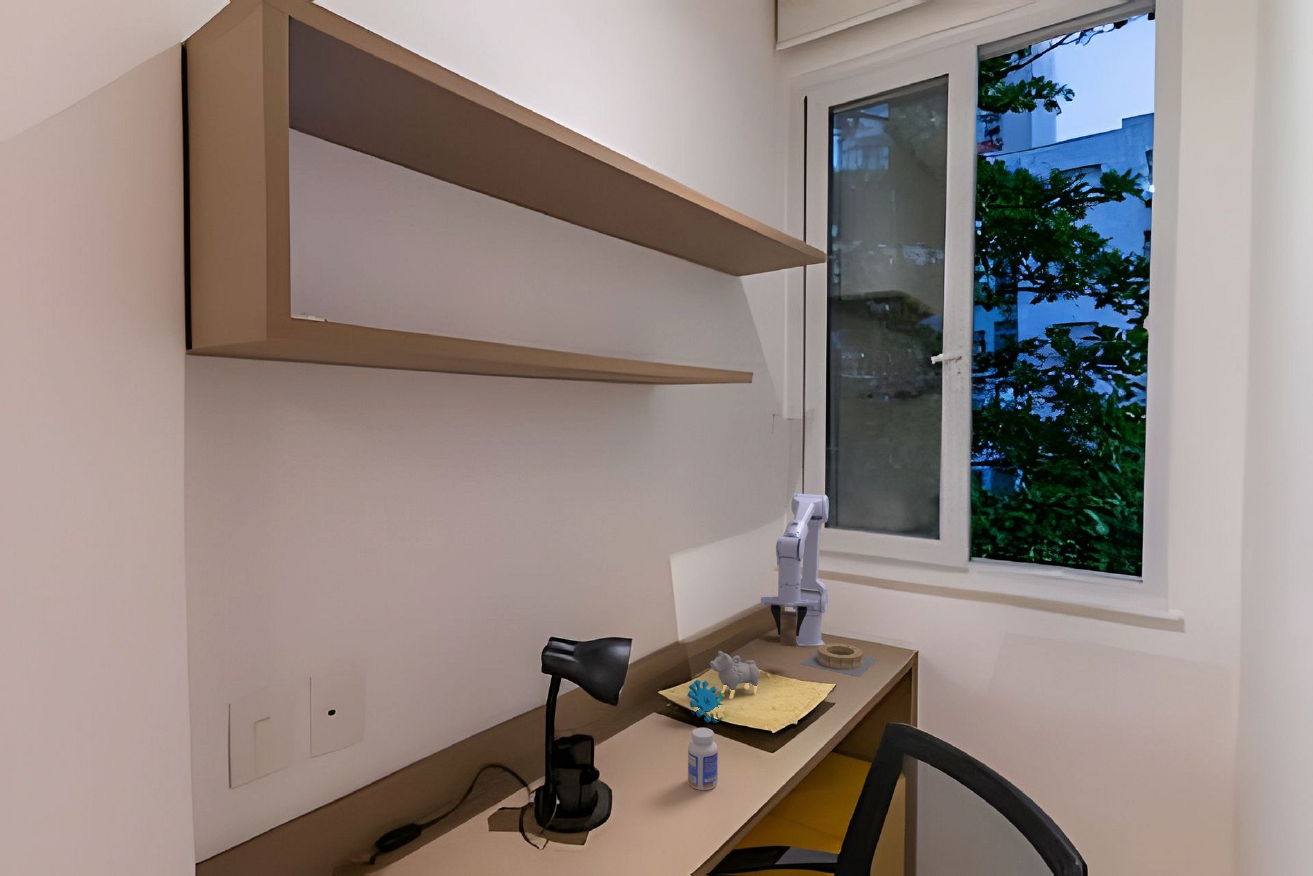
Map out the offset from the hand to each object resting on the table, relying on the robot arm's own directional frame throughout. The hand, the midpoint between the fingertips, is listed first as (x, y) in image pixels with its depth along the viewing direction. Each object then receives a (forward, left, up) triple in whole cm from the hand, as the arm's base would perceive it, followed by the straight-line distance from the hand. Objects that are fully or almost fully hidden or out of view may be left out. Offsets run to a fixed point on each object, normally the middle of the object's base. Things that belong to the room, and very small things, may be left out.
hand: (788, 634), depth 191 cm
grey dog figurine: (+14, -16, -10) cm, 24 cm away
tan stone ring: (-6, +16, -10) cm, 19 cm away
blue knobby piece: (+27, -25, -10) cm, 38 cm away
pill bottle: (+55, -29, -10) cm, 63 cm away
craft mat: (-6, +16, -10) cm, 20 cm away
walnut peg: (0, 0, -2) cm, 2 cm away
